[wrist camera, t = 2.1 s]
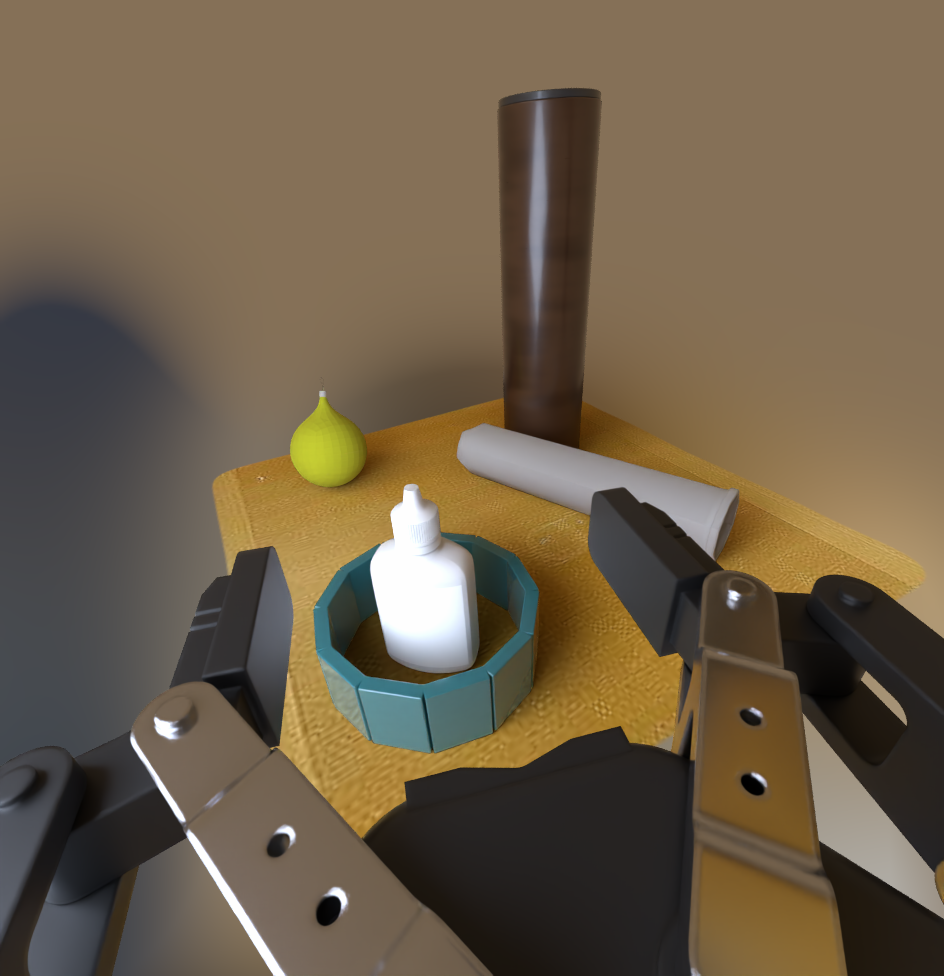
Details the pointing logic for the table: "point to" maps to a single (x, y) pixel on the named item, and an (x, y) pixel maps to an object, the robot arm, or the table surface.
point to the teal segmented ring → (446, 702)
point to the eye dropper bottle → (425, 591)
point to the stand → (546, 255)
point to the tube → (596, 481)
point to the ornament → (328, 447)
